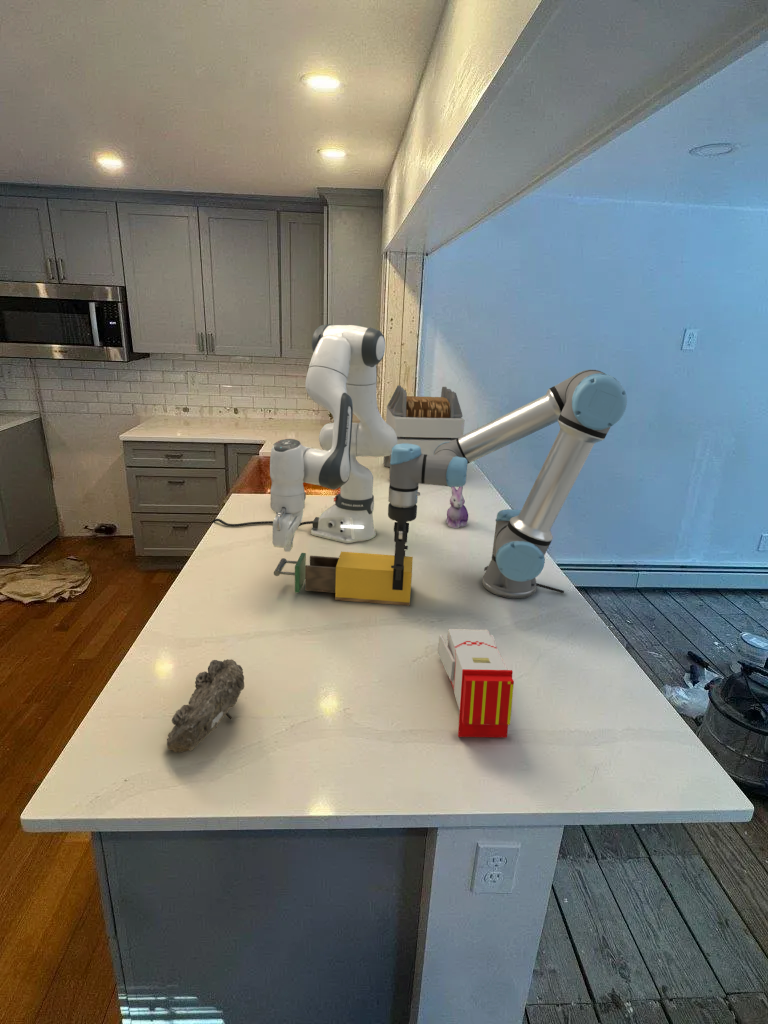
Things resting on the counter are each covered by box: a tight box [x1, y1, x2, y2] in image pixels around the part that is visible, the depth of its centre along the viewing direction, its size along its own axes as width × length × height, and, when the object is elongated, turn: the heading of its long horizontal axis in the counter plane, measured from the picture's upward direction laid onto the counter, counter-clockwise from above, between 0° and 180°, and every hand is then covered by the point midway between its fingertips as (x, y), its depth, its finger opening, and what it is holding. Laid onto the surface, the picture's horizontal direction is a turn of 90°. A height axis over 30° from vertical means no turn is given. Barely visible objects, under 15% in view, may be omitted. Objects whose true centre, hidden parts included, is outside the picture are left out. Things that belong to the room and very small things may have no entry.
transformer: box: [383, 384, 465, 479], centre depth 268 cm, size 34×33×41 cm
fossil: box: [166, 658, 245, 754], centre depth 106 cm, size 22×10×15 cm
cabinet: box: [334, 551, 414, 607], centre depth 155 cm, size 20×10×10 cm, turn 86°
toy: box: [437, 628, 515, 738], centre depth 117 cm, size 12×13×30 cm
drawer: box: [273, 552, 339, 594], centre depth 156 cm, size 25×9×8 cm, turn 86°
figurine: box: [445, 486, 469, 529], centre depth 209 cm, size 9×10×15 cm
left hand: (288, 549), depth 154 cm, fingers closed
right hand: (398, 580), depth 155 cm, fingers closed on cabinet, 10 cm apart
